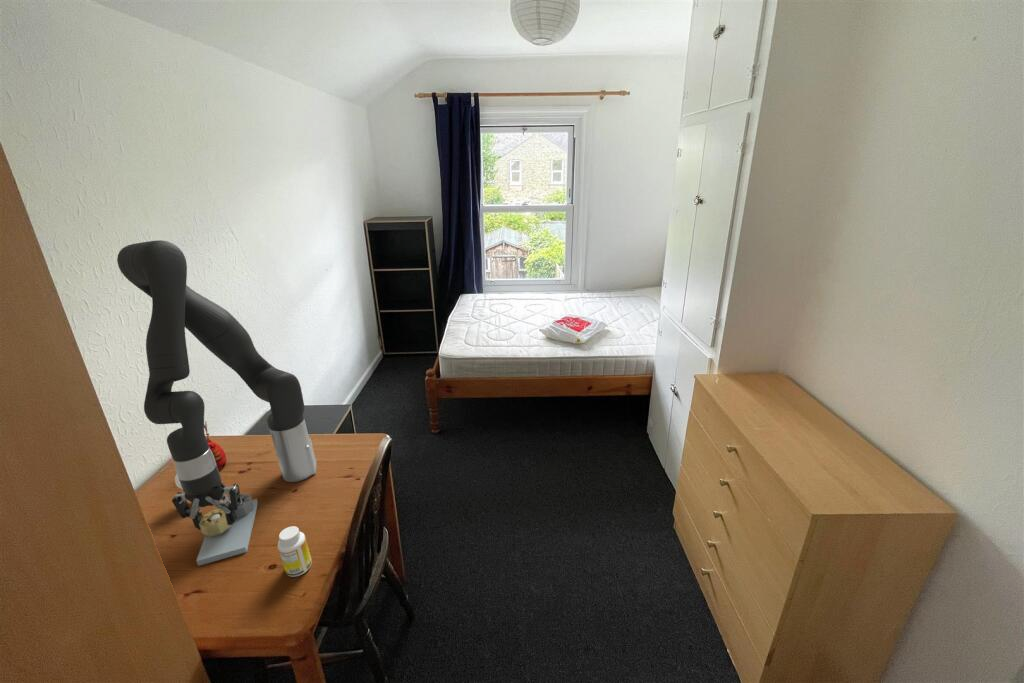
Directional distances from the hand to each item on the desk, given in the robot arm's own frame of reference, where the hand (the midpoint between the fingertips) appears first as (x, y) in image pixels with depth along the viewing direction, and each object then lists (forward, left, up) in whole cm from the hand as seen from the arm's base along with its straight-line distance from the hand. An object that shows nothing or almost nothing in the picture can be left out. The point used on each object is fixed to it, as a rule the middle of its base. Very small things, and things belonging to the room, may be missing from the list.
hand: (217, 524), depth 109 cm
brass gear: (0, 0, -1) cm, 1 cm away
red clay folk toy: (+8, -33, -3) cm, 34 cm away
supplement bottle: (-19, +19, -3) cm, 27 cm away
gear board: (-2, 0, -3) cm, 4 cm away
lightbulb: (+9, -17, -3) cm, 19 cm away
